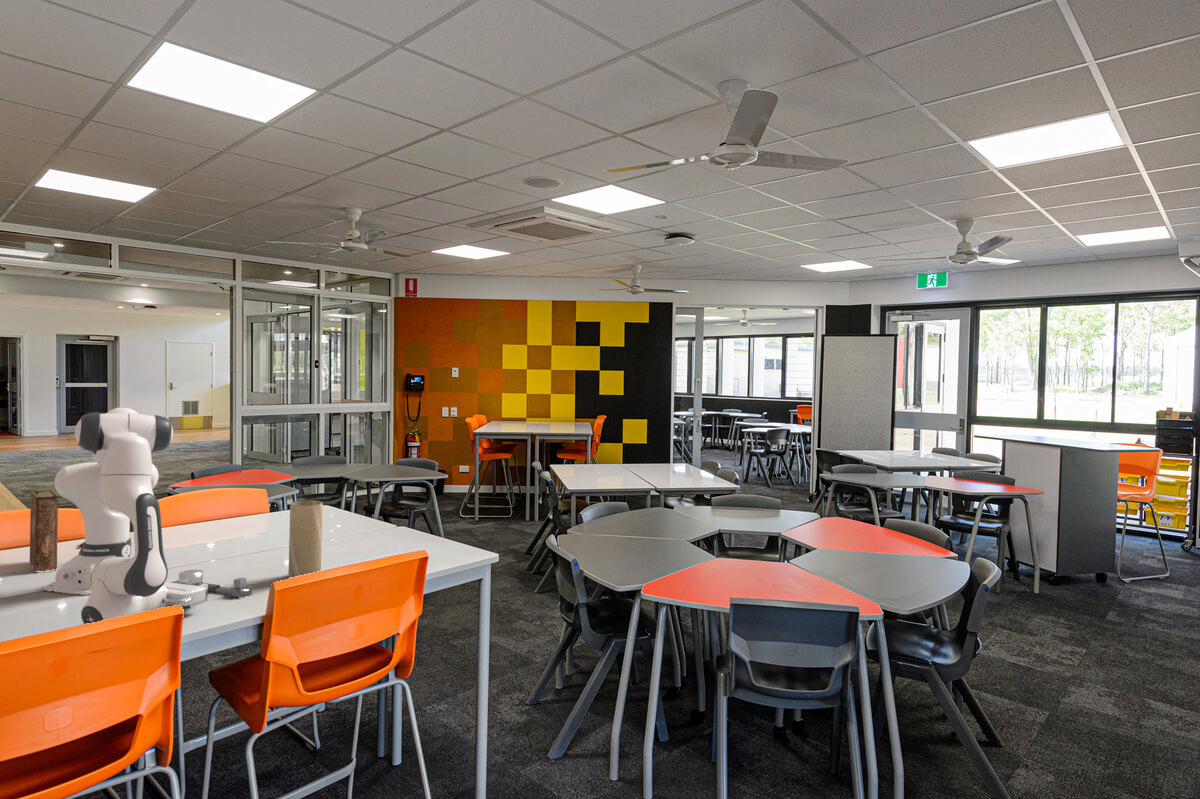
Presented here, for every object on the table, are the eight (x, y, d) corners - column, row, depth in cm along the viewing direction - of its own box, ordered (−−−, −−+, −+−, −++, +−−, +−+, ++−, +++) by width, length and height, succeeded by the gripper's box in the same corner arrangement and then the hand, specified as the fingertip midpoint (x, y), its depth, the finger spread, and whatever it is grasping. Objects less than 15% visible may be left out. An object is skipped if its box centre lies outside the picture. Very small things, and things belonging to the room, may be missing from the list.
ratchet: (188, 592, 196) (188, 576, 196) (205, 586, 202) (206, 570, 202) (240, 599, 192) (240, 583, 191) (256, 593, 198) (256, 577, 198)
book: (57, 570, 213) (58, 496, 212) (35, 573, 209) (37, 497, 208) (50, 560, 224) (51, 489, 223) (29, 562, 220) (30, 490, 219)
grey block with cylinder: (173, 605, 185) (173, 574, 185) (191, 598, 191) (191, 568, 191) (190, 607, 184) (190, 576, 183) (207, 600, 189) (208, 570, 189)
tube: (288, 582, 209) (290, 506, 208) (288, 573, 218) (290, 501, 217) (321, 579, 213) (323, 505, 213) (320, 571, 222) (322, 499, 222)
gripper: (180, 592, 172) (222, 577, 185) (120, 583, 177) (165, 570, 190) (179, 615, 172) (221, 599, 185) (120, 606, 177) (165, 591, 190)
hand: (192, 584), depth 188 cm, fingers open, 8 cm apart
